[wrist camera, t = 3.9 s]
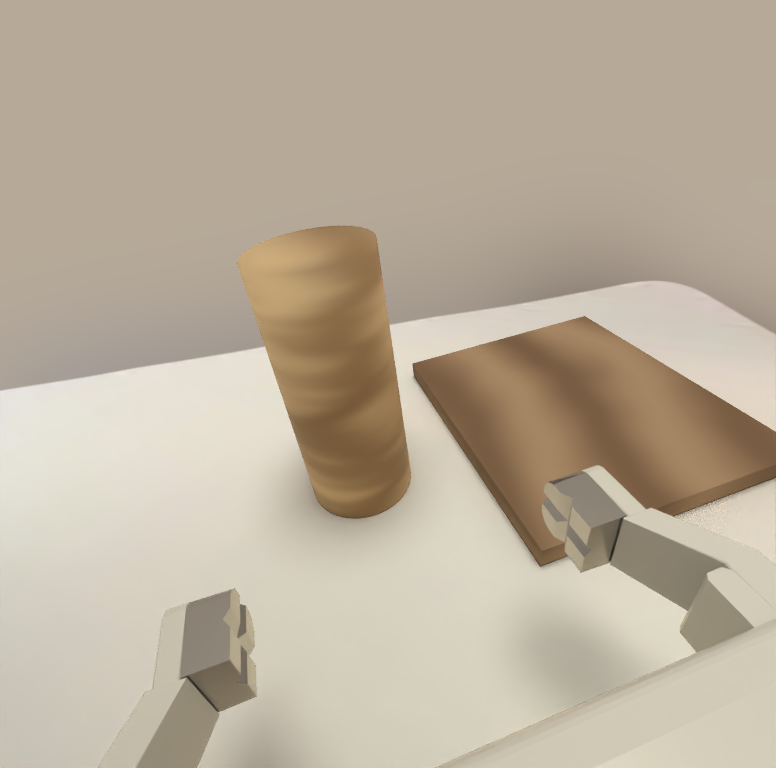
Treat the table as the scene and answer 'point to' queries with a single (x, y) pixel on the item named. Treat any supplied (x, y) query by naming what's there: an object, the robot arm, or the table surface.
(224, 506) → the table surface
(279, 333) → the oak roller
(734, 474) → the board
